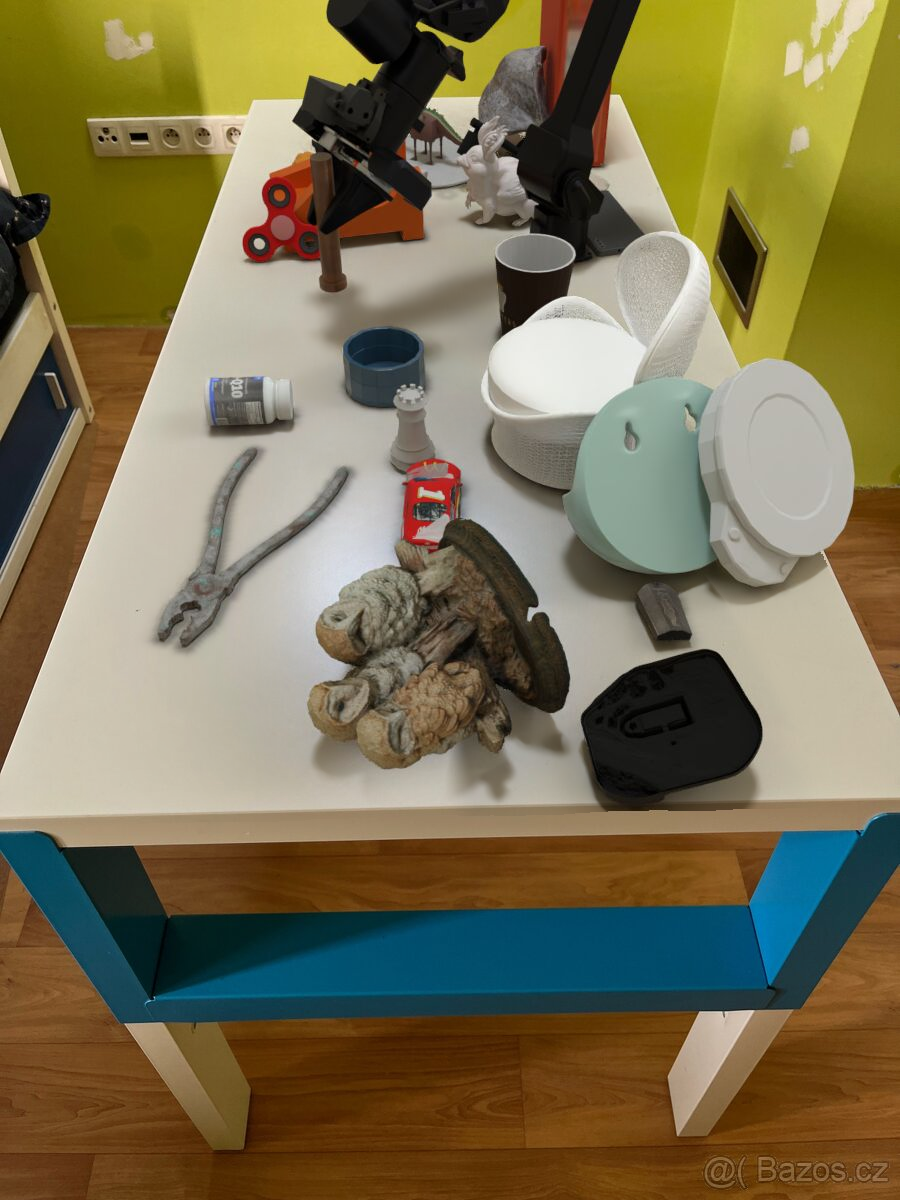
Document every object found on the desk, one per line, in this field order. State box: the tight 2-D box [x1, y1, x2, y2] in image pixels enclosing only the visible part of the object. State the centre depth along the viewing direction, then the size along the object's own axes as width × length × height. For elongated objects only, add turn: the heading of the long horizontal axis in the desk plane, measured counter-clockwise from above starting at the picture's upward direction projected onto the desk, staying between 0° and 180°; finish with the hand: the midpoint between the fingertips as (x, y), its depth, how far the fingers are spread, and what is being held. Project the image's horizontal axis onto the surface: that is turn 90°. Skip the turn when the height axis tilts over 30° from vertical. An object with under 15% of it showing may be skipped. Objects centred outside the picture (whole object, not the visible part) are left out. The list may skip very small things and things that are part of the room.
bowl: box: [342, 325, 426, 408], centre depth 104 cm, size 8×8×4 cm
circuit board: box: [470, 126, 523, 154], centre depth 149 cm, size 8×8×1 cm
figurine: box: [456, 116, 538, 227], centre depth 128 cm, size 8×15×13 cm, turn 106°
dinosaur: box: [405, 107, 469, 189], centre depth 141 cm, size 18×18×11 cm
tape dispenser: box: [268, 141, 425, 255], centre depth 128 cm, size 18×13×8 cm
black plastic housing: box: [580, 648, 764, 807], centre depth 72 cm, size 12×10×5 cm
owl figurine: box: [306, 516, 571, 770], centre depth 72 cm, size 18×12×17 cm
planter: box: [561, 376, 719, 575], centre depth 86 cm, size 19×7×16 cm
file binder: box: [539, 0, 613, 167], centre depth 138 cm, size 8×17×32 cm, turn 4°
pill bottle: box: [203, 375, 294, 427], centre depth 100 cm, size 5×5×8 cm
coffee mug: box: [494, 233, 576, 338], centre depth 110 cm, size 12×9×10 cm
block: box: [634, 581, 693, 642], centre depth 81 cm, size 4×6×2 cm, turn 10°
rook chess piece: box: [389, 384, 437, 473], centre depth 94 cm, size 4×4×8 cm
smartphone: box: [587, 189, 652, 257], centre depth 130 cm, size 7×1×15 cm
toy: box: [241, 177, 320, 263], centre depth 122 cm, size 10×10×1 cm
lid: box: [698, 357, 856, 588], centre depth 85 cm, size 17×20×3 cm
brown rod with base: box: [310, 152, 348, 294], centre depth 103 cm, size 3×3×14 cm
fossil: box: [477, 45, 549, 137], centre depth 141 cm, size 15×14×10 cm
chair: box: [480, 230, 712, 491], centre depth 91 cm, size 20×20×20 cm
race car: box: [400, 458, 463, 553], centre depth 89 cm, size 13×5×4 cm, turn 177°
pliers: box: [157, 446, 349, 646], centre depth 88 cm, size 11×1×25 cm
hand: (316, 228), depth 103 cm, fingers closed on brown rod with base, 2 cm apart
